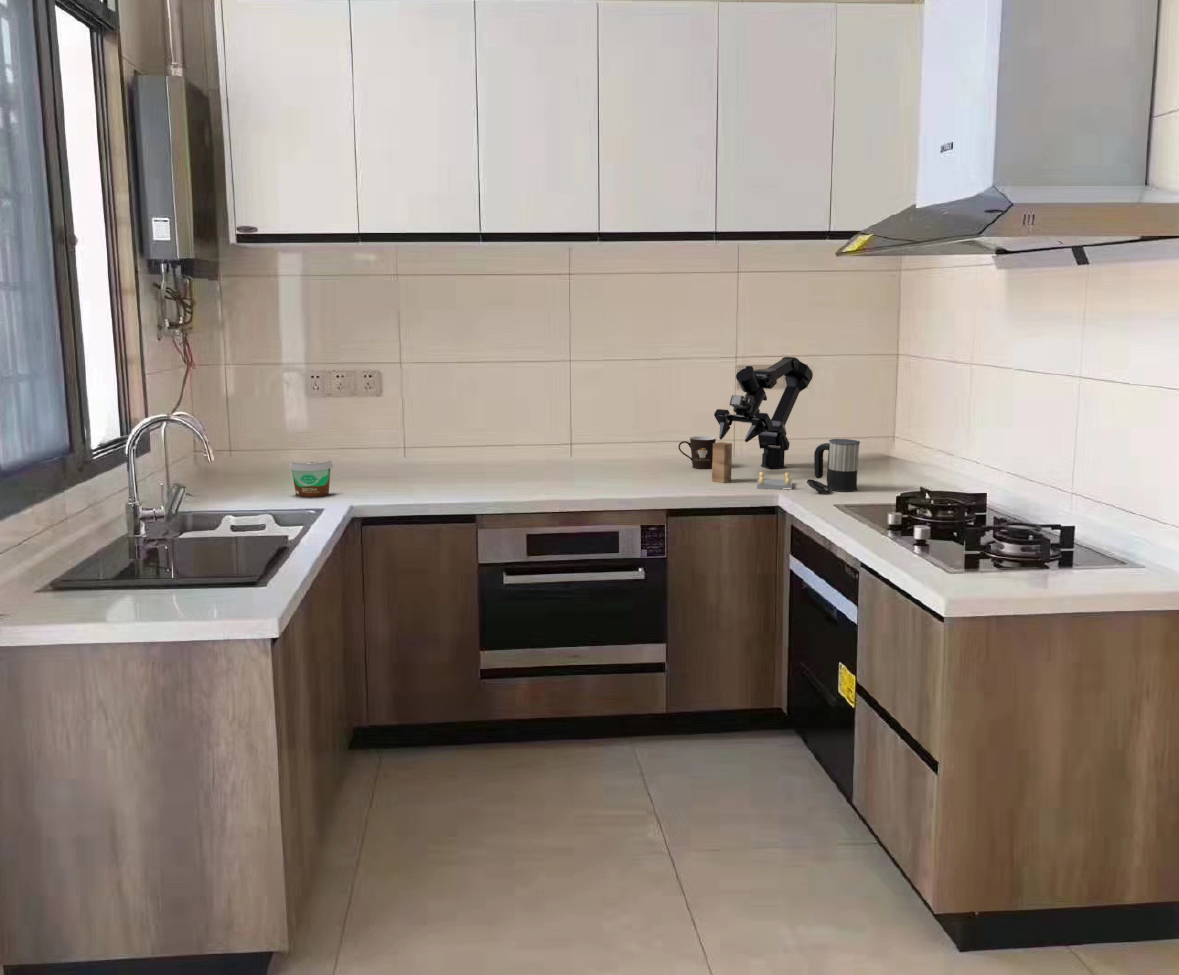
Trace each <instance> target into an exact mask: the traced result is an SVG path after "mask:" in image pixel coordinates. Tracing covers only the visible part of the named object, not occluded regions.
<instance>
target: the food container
mask: <svg viewBox="0 0 1179 975" xmlns="http://www.w3.org/2000/svg"><path fill="white" fill-rule="evenodd" d="M333 467H334V464H333V461H332V459H330V460H327V461H324V462H323V461H322V462H312V461H311V462H310V461H309V462H304V463H301V462H293V461H290V463H289V469H290V470H291V472H292V479H293V486H294V491H295V492H294V494H295V496H296V497H298V498H307V499H309V498H310V499H311V498H313V499H314V498H321V497H326V496H329V495H330V494H329V493H330V483H331V481H330V480H331V469H332V468H333Z"/></svg>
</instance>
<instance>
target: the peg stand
mask: <svg viewBox="0 0 1179 975" xmlns="http://www.w3.org/2000/svg"><path fill="white" fill-rule="evenodd" d="M790 475H791V473H790V472H785V473H784V479H783V478H782V479H781V478H779V479H778V478H765V472H764V471H759V475H758V476H759V478H757V479H756V483H757V484H756V488H757V489H761V490H762V489H763V490H764V489H765V490H784V489H783V488H792V489H793V483H792V481H793V480H792V479H791V477H790Z"/></svg>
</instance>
